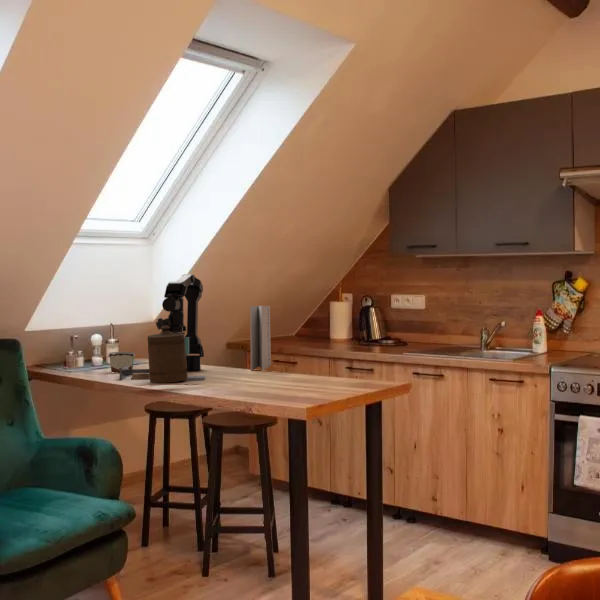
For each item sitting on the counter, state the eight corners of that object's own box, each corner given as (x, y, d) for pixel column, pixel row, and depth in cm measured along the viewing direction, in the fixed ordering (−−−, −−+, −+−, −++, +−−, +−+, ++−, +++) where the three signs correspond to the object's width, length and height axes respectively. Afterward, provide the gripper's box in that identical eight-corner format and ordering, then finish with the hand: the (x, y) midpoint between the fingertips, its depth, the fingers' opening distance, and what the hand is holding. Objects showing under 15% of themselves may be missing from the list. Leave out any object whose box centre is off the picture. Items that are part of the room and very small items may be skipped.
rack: (176, 375, 346) (176, 363, 346) (173, 379, 326) (173, 366, 327) (126, 376, 345) (126, 364, 345) (119, 380, 325) (119, 368, 325)
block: (189, 353, 329) (189, 337, 329) (188, 354, 326) (188, 337, 326) (165, 354, 328) (164, 337, 329) (164, 354, 325) (164, 337, 326)
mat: (205, 378, 329) (205, 375, 329) (204, 380, 319) (204, 377, 319) (176, 378, 328) (176, 376, 328) (174, 380, 318) (174, 378, 318)
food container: (139, 373, 361) (138, 351, 361) (134, 374, 355) (134, 352, 355) (112, 373, 362) (112, 351, 362) (108, 374, 356) (108, 352, 356)
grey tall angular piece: (263, 374, 341) (262, 305, 341) (250, 374, 342) (249, 305, 343) (270, 372, 355) (270, 305, 355) (259, 372, 356) (258, 306, 356)
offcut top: (162, 376, 331) (162, 372, 331) (161, 377, 328) (161, 373, 327) (133, 376, 330) (133, 373, 330) (132, 377, 327) (132, 374, 327)
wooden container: (172, 375, 325) (168, 322, 323) (195, 378, 315) (191, 323, 313) (142, 381, 314) (138, 326, 312) (165, 384, 304) (161, 327, 302)
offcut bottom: (163, 379, 331) (163, 376, 331) (162, 380, 327) (162, 377, 327) (132, 380, 330) (132, 376, 330) (131, 381, 327) (130, 377, 327)
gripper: (159, 312, 336) (160, 348, 336) (154, 311, 318) (154, 350, 317) (186, 312, 337) (186, 348, 337) (181, 311, 318) (182, 350, 318)
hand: (176, 349), depth 327 cm, fingers closed on block, 3 cm apart
